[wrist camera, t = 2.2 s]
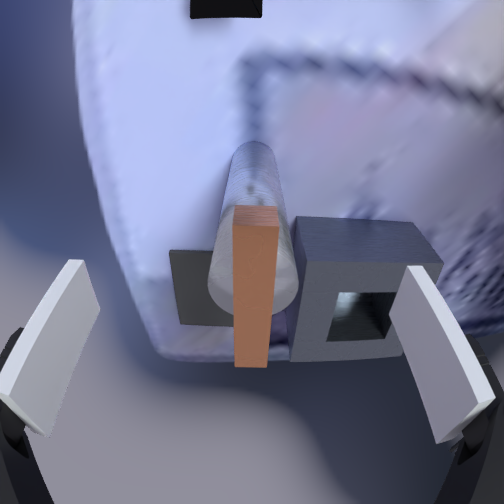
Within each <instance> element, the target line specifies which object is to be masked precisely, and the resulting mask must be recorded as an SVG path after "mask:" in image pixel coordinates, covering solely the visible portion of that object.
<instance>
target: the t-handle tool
mask: <svg viewBox="0 0 504 504" xmlns="http://www.w3.org/2000/svg"><path fill="white" fill-rule="evenodd" d="M298 284H299V282H298V275H297V269H296V263H295V258H294V252H293V247H292V241H291V236H290V230H289V225H288V220H287V214H286V209H285V204H284V199H283V194H282V189H281V184H280V179H279V174H278V169H277V164H276V159H275V156H274V153H273V151H272V150H271V149H270V148H269V147H268V146H267V145H265V144H263V143H261V142H256V141H252V142H247V143H244V144H242V145H241V146H240V147H238V149H237V150H236V151H235V153H234V155H233V159H232V164H231V168H230V173H229V177H228V182H227V186H226V191H225V196H224V201H223V205H222V210H221V215H220V220H219V225H218V230H217V235H216V240H215V245H214V250H213V255H212V260H211V266H210V271H209V276H208V290H209V293H210V295H211V297H212V299H213V300H214V302H215V303H216V304H217V305H218V306H219V307H220V308H222V309H223V310H225V311H226V312H228V313H230V314H233V315H234V357H235V367H267V360H268V350H269V340H270V330H271V319H272V315H274V314H276V313H278V312H280V311H282V310H283V309H285V308H286V307H287V306H288V305H289V304H290V303H291V302H292V301H293V299H294V298H295V296H296V294H297V291H298Z"/></svg>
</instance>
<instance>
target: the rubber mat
mask: <svg viewBox="0 0 504 504" xmlns="http://www.w3.org/2000/svg"><path fill="white" fill-rule="evenodd" d="M212 255H213V251H190V250H170V252H169V256H170V263H171V269H172V276H173V282H174V289H175V295H176V301H177V307H178V312H179V318H180V323H181V324H186V325H205V326H229V327H234V315H233V314H230V313H228V312H226V311H225V310H223V309H222V308H220V307H219V306H218V305H217V304H216V303H215V302H214V300H213V299H212V297H211V295H210V293H209V290H208V276H209V271H210V266H211V260H212Z"/></svg>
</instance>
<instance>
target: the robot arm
mask: <svg viewBox="0 0 504 504" xmlns="http://www.w3.org/2000/svg"><path fill="white" fill-rule="evenodd" d="M99 312H100V307H99V304H98V301H97V299H96V296H95V293H94V290H93V287H92V284H91V281H90V278H89V275H88V272H87V269H86V265H85V262H84V260H68V262H67V263H66V264H65V266H64V267H63V269H62V270H61V272H60V273H59V275H58V276H57V278H56V279H55V281H54V282H53V283H52V285H51V287H50V288H49V290H48V291H47V293H46V294H45V296H44V297H43V299H42V300H41V302H40V304H39V305H38V307H37V308H36V310H35V312H34V313H33V315H32V316H31V318H30V320H29V321H28V323H27V325H26V326H25V328H21V327H20V328H19V329H18V330H17V331H16V332H15V333H14V334H13V335H11V337H10V338H9V340H8V342H7V344H6V346H5V349H3V351H2V353H1V355H0V504H54V502H53V500H52V498H51V496H50V493H49V491H48V489H47V487H46V484H45V482H44V480H43V477H42V475H41V473H40V470H39V467H38V465H37V462H36V460H35V457H34V454H33V451H32V448H31V446H30V443H29V440H28V437H27V435H26V433H25V431H24V428H25V425H26V426H28V427H29V428H30V429H31V430H32V431H33V432H34V433H37V434H40V435H43V436H46V437H49V438H50V436H51V433H52V430H53V427H54V424H55V421H56V418H57V415H58V412H59V409H60V407H61V403H62V401H63V398H64V396H65V393H66V390H67V388H68V385H69V382H70V380H71V377H72V375H73V372H74V369H75V367H76V365H77V362H78V359H79V357H80V355H81V352H82V350H83V348H84V345H85V343H86V341H87V339H88V336H89V334H90V332H91V329H92V327H93V325H94V323H95V321H96V318H97V316H98V314H99ZM389 316H390V318H391V321H392V323H393V325H394V328H395V330H396V333H397V335H398V337H399V340H400V342H401V345H402V347H403V350H404V352H405V355H406V357H407V360H408V363H409V365H410V367H411V370H412V373H413V376H414V378H415V381H416V384H417V387H418V389H419V392H420V395H421V398H422V401H423V403H424V406H425V410H426V412H427V416H428V419H429V422H430V425H431V428H432V431H433V434H434V437H435V441H436V443H437V444H438V443H441V442H444V441H447V440H451V439H453V438H454V437H456V436H457V435H458V434H459V433H460V432H461V431H462V433H463V435H464V437H463V438H462V439H461V440H460V441H458V442H457V443H456V444H455V445H454V446H452V447H451V449H450V452H452V451H454V450H455V449H456V448H457V447H458V449H457V451H456V452H455V456H454V459H453V462H452V464H451V467H450V469H449V472H448V474H447V476H446V479H445V481H444V483H443V485H442V488H441V490H440V492H439V494H438V496H437V498H436V500H435V503H434V504H504V391H503V389H502V387H501V385H500V383H499V381H498V379H497V377H496V375H495V373H494V371H493V369H492V367H491V365H489V361H488V359H487V357H486V356H484V355H485V354H484V352H483V350H482V348H481V346H480V345H479V343H478V342H477V341H476V340H475V339H474V338H473V337H472V336H471V335H470V334H466V335H464V333H463V332H462V330H461V328H460V326H459V325H458V323H457V321H456V319H455V318H454V316H453V314H452V312H451V311H450V309H449V307H448V306H447V304H446V302H445V301H444V299H443V298H442V296H441V294H440V293H439V291H438V289H437V288H436V286H435V285H434V283H433V282H432V280H431V278H430V277H429V275H428V274H427V272H426V271H425V269H424V268H423V266H407V267H406V270H405V273H404V276H403V279H402V281H401V284H400V287H399V290H398V292H397V295H396V298H395V300H394V303H393V305H392V308H391V310H390V313H389Z"/></svg>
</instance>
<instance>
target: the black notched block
mask: <svg viewBox="0 0 504 504" xmlns="http://www.w3.org/2000/svg"><path fill="white" fill-rule="evenodd" d="M261 17H262V0H190V18H191V19H200V18H261Z"/></svg>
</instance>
